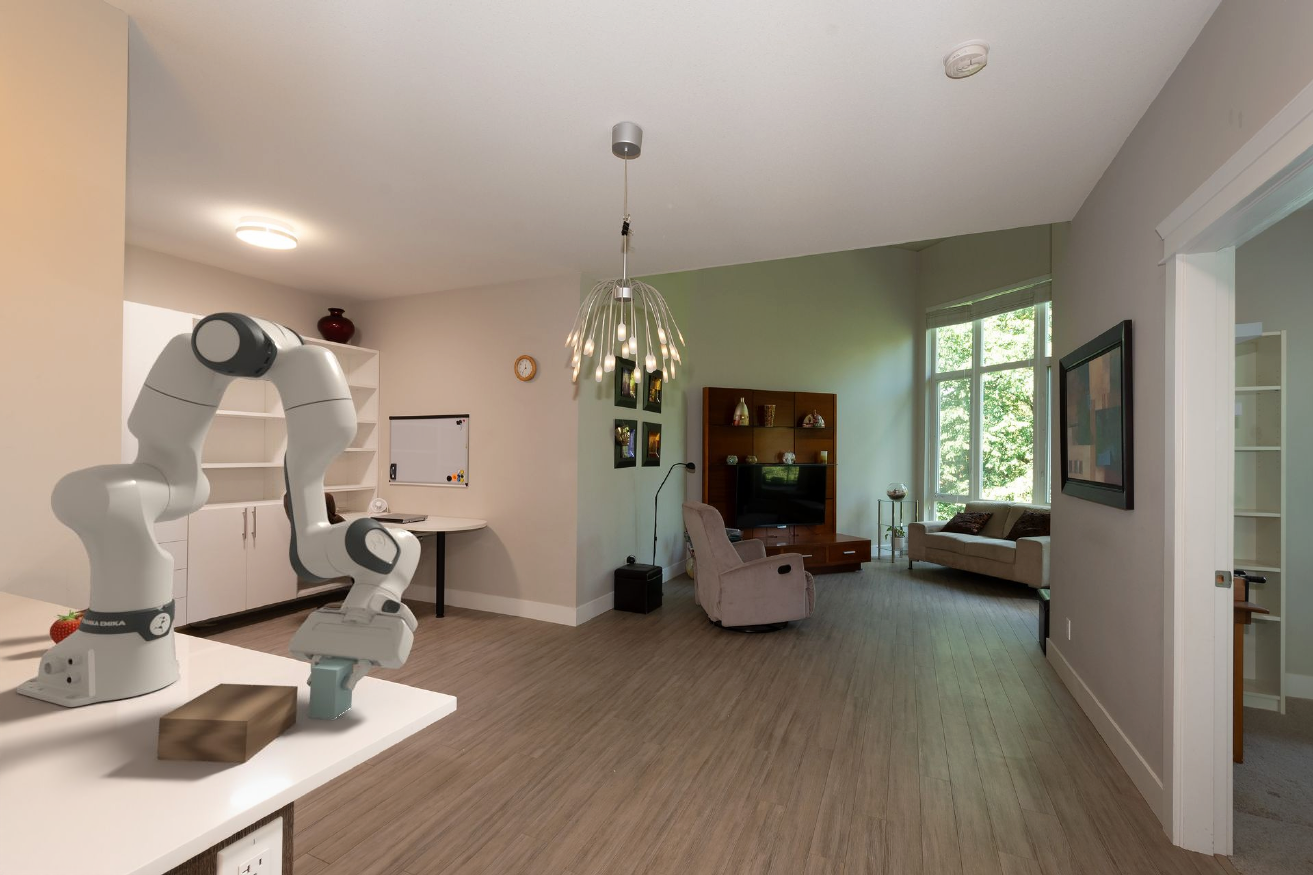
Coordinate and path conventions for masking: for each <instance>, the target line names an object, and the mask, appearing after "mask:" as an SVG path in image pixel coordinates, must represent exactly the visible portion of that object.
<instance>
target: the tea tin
mask: <svg viewBox="0 0 1313 875" xmlns="http://www.w3.org/2000/svg"><path fill="white" fill-rule="evenodd" d="M354 666H355V665H354V661H352V660H342V659H332V658H329V659H327V660H325V661H323V662H322V663H320V664H318V665H316V666H314V667H312V669H311V668H310V674H311V687H310V686H309V687H310V688H309V689H310V691H309V705H308V706H309V708H308V709H309V710H308V718H309V717H313V718H312V719H318V718H324V719H323V720H327V719H335V718H336V717H337V716H339V715H340V714H342V713H343V712H345V711H346V710H348V709H349V708H351V709H352V703H353V702H352V701H353V700H352V699H353V691H349V690H343V688H341V683H342V682H343V679H344V677H345V676H350V675H351V674H352V673H353V672H354ZM348 711H349V710H348ZM345 713H346V712H345ZM342 715H343V714H342ZM335 720H336V719H335Z"/></svg>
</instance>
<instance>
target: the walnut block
mask: <svg viewBox="0 0 1313 875" xmlns="http://www.w3.org/2000/svg"><path fill="white" fill-rule="evenodd" d="M298 689H299V688H298V685H297V686H295V685H276V684H275V685H270V684H249V683H248V684H244V683H241V684H239V683H219V684H218V685H215V686H214V687H212V688H210V689H208V690H207V691H205V692H204V693H201V694H200V695H197V696H196V697H194V698H193V699H191V700H189V701H187V702H186V703H184V704H181V705H180V706H179V707H177V708H174V709H173V710H171V711H169V712H168V713H166V714H164V715H162V716H160V717H159V720H158V737H157V758H156V759H158V760H159V761H178V762H179V761H183V762H184V761H185V762H210V763H211V762H213V763H237V764H239V763H240V764H245V763H247V762H248V761H250V760H251V759H252V758H253V757H254V756H256V755H257V754H258V753H259V752H261V751H262V750H263V749H265V748H266V747H267V746H268V745H270V744H271V743H272V742H273V741H275V740H277V738H278V737H280V736H282V734H284V733H285V732H286V731H287V730H289V729H290V728H291V727H292V726H293V725H295V724H296V723H297V708H298V707H297V706H298V704H297V703H298ZM158 760H157V761H158Z"/></svg>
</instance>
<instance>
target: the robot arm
mask: <svg viewBox="0 0 1313 875" xmlns="http://www.w3.org/2000/svg"><path fill="white" fill-rule="evenodd" d="M237 379H243V380H249V381H267V382H270V383H272V384H273V385H274V387H275V388H276V390H277V392H278V394H279V397H280V400H281V405H282V409H283V413H284V418H285V422H286V424H285V425H286V432H287V433H286V434H287V438H286V439H287V441H286V450H285V452H284V457H283V471H284V472H283V473H284V482H285V492H286V499H287V507H288V515H289V524H290V539H289V540H290V541H289V547H288V548H289V550H288V559H289V562H290V566H291V568H292V570H293V571H294V573H295V574H296V575H297V576H298V577H299V578H300V579H302V580H303V581H305V582H308V583H311V584H312V583H313V584H320V583H324V582H327V581H329V580H332V579H333V580H334V579H336V578H340V577H346V576H350V577H352V578H353V579H354V583H353V585H352V587H351V588H350V591H349V592H348V594H347V596H346V598H345V599H344V602H343V603H342V605H341V607H340V608H330V607H326V606H325V607H321V608H320V609H317V610H314V611H312V612H310V613H309V614H308V617H307V618H306V620H304V622H303V623H302V624H301V626H299V628H298V629H297V631H296V632H295V633H294V635H293V636H292V638H291V639H290V641H289V642H288V644H287V649H288V652H289V653H290V654H291V655H292V656H293V657H294V658H295V659H296V660H300V661H301V660H303V661H310V663H309V664H310V670H311V669H312V667H314V666H316V665H318V664H320V663H322V662H323V661H325V660H327V659H329V658H332V659H342V660H352V661H354V666H356V667H358V668H356V669H355V670H353V673H352V674H351V675H350V676H345V677H344V679H343V682H342V683H341V688H343V690H349V691H352V692H353V691H354V690H355V688H356V685H357V683H358V682H359V681H361V680H362V679H363V678H364V677H365V676H366V675H367V674H369V673H370V671H371V669H372V668H373V667H374V668H384V669H393V670H398V669H400V668H401V667H403V666H404V665H405V663H406V662H407V660H408V657H409V655H410V652H411V649H412V647H413V643H414V640H415V638H414V634H413V632H415V631H416V630H417V627H418V620H417V619H416V617H415V615H414V614H413V612H412V611H411V609H410V608H409V607H408V606H407V605H406V604H404V603H403V602H401V601H402V595H403V593H404V592H405V590H406V589H407V588H408V587H409V585H410V583H411V581H412V579H413V577H414V574H415V572H416V570H417V567H418V564H419V561H420V557H421V548H422V547H421V546H422V545H421V543H420V541H419V539H418V538H417V537H416V536H415V535H414V534H413V533H411V531H408V530H406V529H403V528H400V527H398V528H397V527H395V528H391V527H386V526H384V525H383V524H382V523H380V522H379V521H378V520H376V519H374V518H371V517H360V518H355V519H349V520H343V521H342V522H338V523H334V524H331V523H330V521H329V518H328V511H327V504H326V503H327V502H326V495H325V486H324V479H325V476H326V472H327V470H328V469H329V467H330V466H331V465H332V463H333V462H334V461H335V459H337V458H338V457H339V456H340V455H341V454H342V453H344V452H345V451H346V450H347V449H348V447H350V445H351V444H352V442H353V441H354V439H355V437H356V435H357V432H358V417H357V410H356V408H355V403H354V401H353V397H352V394H351V390H350V386H349V383H348V382H347V378H346V375H345V374H344V371H343V369H342V366H341V365H340V362H339V361H338V358H337V357H336V354H334V352H332V351H331V350H330V349H329V348H327V347H324V346H321V345H316V344H307V343H306V341H305V339H304V338H303V337H302V336H301V335H300V334H299V333H297V331H295V330H294V329H293V328H290V327H288V326H285V325H281V324H279V323H277V322H274V321H272V320H269V319H266V318H262V317H255V316H249V315H246V314H242V313H239V312H238V313H237V312H233V311H232V312H230V311H229V312H217V313H216V312H215V313H212V314H209V315H207V316H205V317H203V318H202V319H200V320H199V321H198V322H197V324H196V325H195V326H194V329H193V331H192V332H187V333H186V332H184V333H180V334H177V335H175V336H173V337H172V338H171V339H170V340H169V342H167V344H166V346H165V347H163V349H162V351H161V352H160V353H159V355H158V356H157V358H156V360H155V362H154V363H153V364H152V367H151V368H150V370H149V371H148V374H147V375H146V378H145V380H144V382H143V384H142V386H141V389H140V392H139V394H138V396H137V398H136V400H135V403H134V405H133V406H132V409H131V412H130V414H129V416H128V418H127V422H126V423H127V428H128V430H129V432H130V434H131V435H132V436H134V437H135V439H137V443H138V444H137V446H138V450H137V455H136V458H135V459H134V461H133V462H132V463H117V464H113V463H112V464H98V465H93V466H90V467H85V468H83V469H78V470H75V471H72V472H69V473H67V474H65V475H63V476H62V477H61V478H60V479H59V480H58V481H57V483H56V484H55V485H54V487H53V489H52V492H51V496H50V506H51V510H52V512H53V514H54V516H55V518H56V519H57V520H58V521H59V522H60V523H61V524H63V525H64V526H66V527H67V528H69V529H71V530H72V531H73V532H74V533H75V534H76V535H77V536H78V537H79V540H81V542H82V544H83V546H84V549H85V551H86V554H87V557H88V562H89V568H90V569H89V570H90V571H89V572H90V574H89V575H90V577H89V578H90V579H89V580H90V581H89V582H90V583H89V606H88V607H87V608H85V609H80V610H78V611H74V614H79V613H81V612H83V613H82V614H80V615H78V616H76V617H74V618H80V617H82V620H81V622H80V624H79V626H78V630H76V631H75V632H74V633H72V634H71V635H69V636H68V637H67V638H65V639H64V640H62V641H61V642H59V643H58V644H56V643H55V645H53V646H52V647H51V648H49V649H48V650H46V651H45V652H44V653H43V654H42V656H41V659H40V661H39V666H38V671H37V672H38V673H37V676H34V677H33V678H30V679H28V680H26V681H24V682H22V683H21V684H19V685H18V686H17V688H16V691H15V692H16V693H17V694H20V695H24V696H27V697H31V698H34V699H38V700H42V701H44V702H50V703H53V704H57V705H60V706H64V707H69V708H74V707H81V706H86V705H89V704H93V703H99V702H107V701H114V700H120V699H121V700H122V699H126V698H130V697H136V696H140V695H145V694H148V693H152V692H154V691H157V690H160V689H162V688H165V687H167V686H169V685H171V684H173V683H174V682H176V681H177V680H178V679H179V678H180V672H179V667H180V661H179V660H177V655H176V654H177V653H176V642H175V629H174V625H173V622H174V620H175V617H176V616H175V614H176V609H177V608H176V600H175V599H174V598H173V592H174V573H175V559H174V556H173V555H172V553H171V552H169V551H168V550H166V549H164V548H162V547H161V546H160V544H159V543H158V541H157V538H156V535H155V531H154V524H158V523H166V522H172V521H176V520H179V519H181V518H184V517H186V516H189V515H190V514H193V513H196V512H198V511H200V509H202V508H203V507H204V506H205V505H206V503H207V502H208V500H209V497H210V494H211V484H210V482H209V480H208V477H207V475H206V474H205V472H204V471H203V468H202V467H203V466H202V459H203V458H202V456H203V448H204V443H205V440H206V437H207V435H208V432H209V430H210V428H211V425H212V423H213V420H214V418H215V415H216V414H217V411H218V408H219V407H220V405H221V401H222V400H223V398H224V395H225V392H226V390H227V389H228V387H229V385H230V384H231V383H232V382H233V381H234V380H237ZM306 684H307V686H308V687H311V673H310V674H309V676H308V678H307V680H306Z"/></svg>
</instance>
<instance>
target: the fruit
mask: <svg viewBox="0 0 1313 875" xmlns="http://www.w3.org/2000/svg"><path fill="white" fill-rule="evenodd" d="M71 611H72V610H71V609H69V613H68V615H61V614H56V616H53V617H55V618H58V619H57V620H55V621H54V622H53V624H52V625H50V628H49V636H50V637H49V638H51V640H52V641H53V642H54V644H55V645H56V644H58V643H59V642H61V641H62V640H64V639H65V638H67V637H68V636H69V635H71V634H72V633H74V632H75V631H76V630H78V626H79V624H80V622H81V620H82V617H80V618H74V617H76V616H78V615H80V614H82V613H83V612H81V613H75V611H72V612H71Z"/></svg>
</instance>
